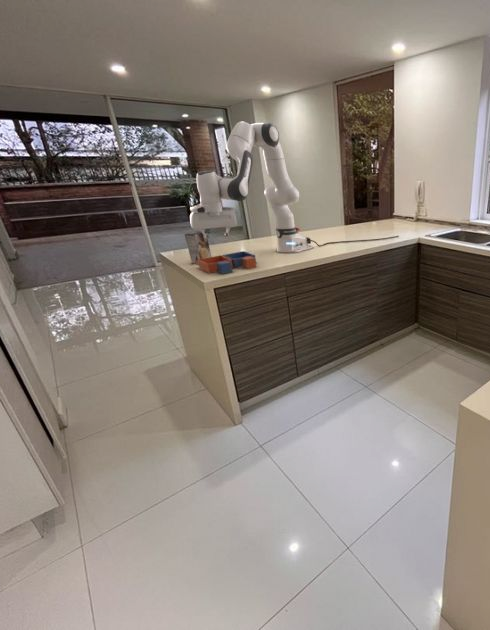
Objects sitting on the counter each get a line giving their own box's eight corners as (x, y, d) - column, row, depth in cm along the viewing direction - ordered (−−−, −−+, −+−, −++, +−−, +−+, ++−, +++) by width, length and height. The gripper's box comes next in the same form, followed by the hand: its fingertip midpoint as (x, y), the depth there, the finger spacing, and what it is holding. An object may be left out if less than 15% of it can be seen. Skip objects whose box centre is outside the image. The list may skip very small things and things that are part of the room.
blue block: (228, 270, 175) (226, 260, 172) (232, 272, 171) (230, 262, 169) (218, 272, 171) (216, 262, 169) (222, 274, 168) (220, 264, 166)
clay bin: (222, 263, 186) (220, 255, 184) (233, 268, 178) (231, 259, 176) (199, 268, 178) (197, 259, 176) (209, 273, 170) (207, 264, 168)
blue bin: (245, 259, 195) (243, 251, 193) (256, 263, 187) (255, 255, 185) (224, 263, 187) (222, 255, 185) (234, 267, 179) (233, 259, 177)
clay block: (251, 265, 183) (250, 256, 181) (256, 266, 180) (254, 257, 178) (243, 267, 180) (241, 257, 178) (247, 268, 177) (245, 259, 175)
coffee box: (202, 259, 195) (196, 230, 188) (212, 259, 193) (206, 231, 187) (191, 263, 186) (184, 234, 180) (201, 264, 185) (194, 234, 179)
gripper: (231, 206, 168) (235, 234, 173) (186, 208, 154) (192, 238, 160) (236, 207, 164) (240, 235, 169) (190, 209, 150) (196, 240, 156)
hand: (216, 237), depth 164 cm, fingers open, 8 cm apart
